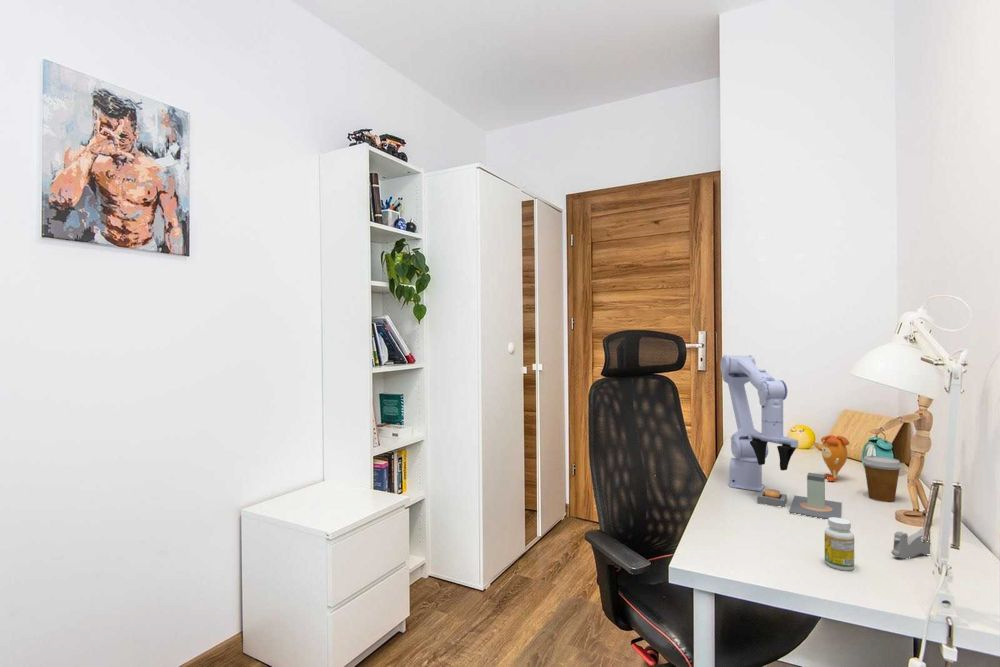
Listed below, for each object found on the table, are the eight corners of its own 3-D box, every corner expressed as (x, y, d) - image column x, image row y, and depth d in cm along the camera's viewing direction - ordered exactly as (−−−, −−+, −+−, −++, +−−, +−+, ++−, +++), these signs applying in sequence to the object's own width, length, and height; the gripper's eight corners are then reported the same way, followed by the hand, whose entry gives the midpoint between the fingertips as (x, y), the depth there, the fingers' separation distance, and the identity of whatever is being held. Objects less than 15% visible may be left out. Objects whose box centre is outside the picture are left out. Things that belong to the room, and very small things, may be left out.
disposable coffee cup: (896, 496, 157) (896, 457, 157) (905, 505, 148) (905, 464, 148) (859, 492, 161) (859, 454, 161) (866, 501, 152) (866, 460, 152)
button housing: (757, 503, 150) (757, 496, 150) (760, 497, 156) (760, 490, 156) (784, 507, 146) (784, 500, 146) (786, 501, 152) (786, 494, 152)
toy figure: (818, 474, 182) (818, 432, 182) (844, 477, 179) (844, 434, 179) (825, 483, 171) (825, 438, 171) (854, 486, 168) (853, 440, 168)
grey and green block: (807, 507, 145) (807, 475, 145) (808, 503, 148) (808, 472, 148) (823, 509, 143) (823, 477, 143) (824, 506, 146) (824, 474, 146)
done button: (763, 498, 150) (763, 491, 150) (765, 494, 154) (765, 488, 154) (779, 500, 148) (779, 493, 148) (780, 497, 151) (780, 490, 152)
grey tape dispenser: (930, 556, 114) (896, 560, 112) (923, 553, 116) (890, 557, 113) (930, 530, 114) (896, 534, 112) (923, 528, 116) (890, 532, 113)
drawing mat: (788, 513, 142) (788, 511, 142) (794, 496, 156) (794, 494, 156) (840, 522, 135) (840, 520, 135) (841, 503, 150) (841, 502, 150)
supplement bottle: (852, 573, 105) (852, 527, 105) (822, 565, 109) (822, 520, 109) (855, 564, 109) (855, 519, 110) (826, 557, 113) (826, 514, 113)
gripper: (804, 423, 146) (804, 471, 146) (758, 416, 159) (758, 460, 159) (789, 425, 143) (789, 474, 143) (743, 418, 156) (743, 462, 156)
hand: (772, 467), depth 151 cm, fingers open, 6 cm apart
